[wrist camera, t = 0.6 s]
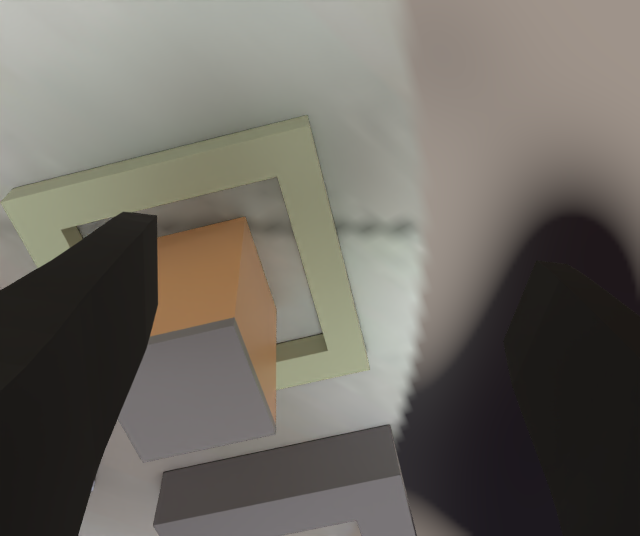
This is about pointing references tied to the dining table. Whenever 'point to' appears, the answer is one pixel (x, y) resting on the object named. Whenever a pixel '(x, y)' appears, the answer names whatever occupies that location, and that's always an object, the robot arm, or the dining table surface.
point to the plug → (206, 347)
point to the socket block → (291, 490)
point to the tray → (203, 178)
